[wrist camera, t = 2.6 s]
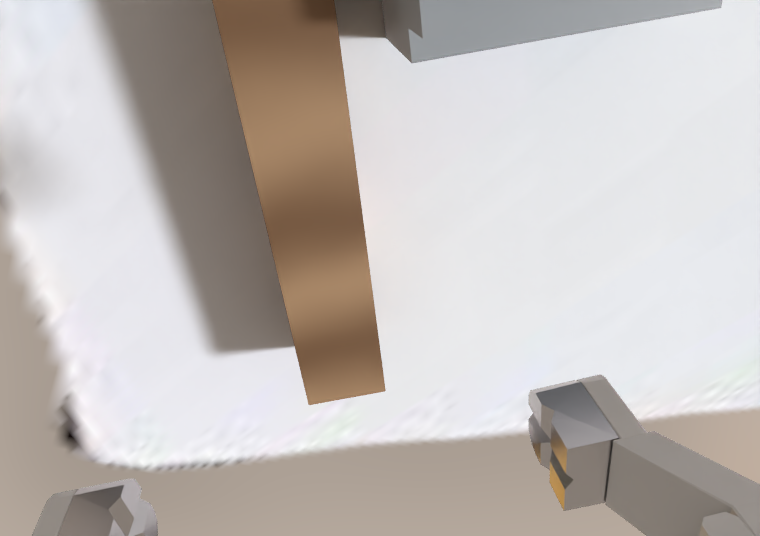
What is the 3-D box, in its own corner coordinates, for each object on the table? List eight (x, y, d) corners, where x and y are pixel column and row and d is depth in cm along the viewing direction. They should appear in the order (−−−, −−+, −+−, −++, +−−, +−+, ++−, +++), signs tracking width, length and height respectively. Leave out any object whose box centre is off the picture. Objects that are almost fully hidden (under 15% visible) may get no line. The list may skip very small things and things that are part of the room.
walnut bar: (215, -62, 19) (197, -62, 15) (316, -74, 19) (323, -77, 15) (305, 342, 28) (308, 405, 24) (372, 330, 28) (385, 391, 25)
